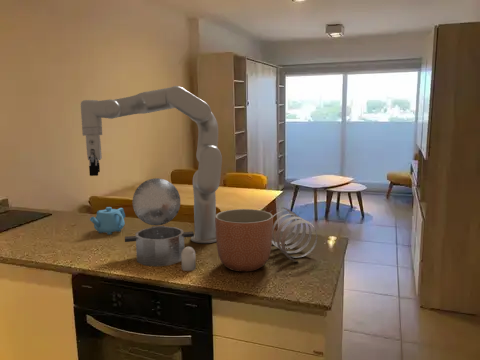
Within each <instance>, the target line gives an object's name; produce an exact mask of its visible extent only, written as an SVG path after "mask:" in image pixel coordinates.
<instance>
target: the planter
mask: <svg viewBox="0 0 480 360" xmlns="http://www.w3.org/2000/svg"><path fill="white" fill-rule="evenodd" d="M273 216H274V215H273V214H272V213H271V212H270V213H269V212H268V211H265V210H261V209H260V210H259V209H250V208H246V209H245V208H238V209H237V208H236V209H230V210H229V209H228V210H223V211H220V212H218V213H216V216H215V229H216V242H215V243H216V249H217V253H218V255H217V256H218V258H219V260H220V262H221V263H222V265H224V266H225V267H226V268H228V269H229V270H231V271H236V272H253V271H256V270H258V269H261V268H262V267H263V266H264V265H265V264H266V263H267V262H268V260H269V259H270V256H271V250H272V244H273V243H272V241H273V239H272V231H273V225H274V217H273Z"/></svg>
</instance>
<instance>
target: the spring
mask: <svg viewBox="0 0 480 360" xmlns="http://www.w3.org/2000/svg"><path fill="white" fill-rule="evenodd" d="M276 209H277V210H278V207H277V208H275V210H276ZM282 209H283V210H284V211H286V212H288V213H284V214H283V215H281V216H279V217H278V218H277V219H276V220H275V221H274V222H273V231H272V244H273V246H275V247H277V248H278V249H279V251H281V252H282V253H283V254H284V255H285V256H286V257H287V258H288V259H289V260H291V261H293V262H296V263H299V261H297V260H295V259H296V258H302V257H305V256H307V255H309V254H310V253H311V252H312V251H314V249H315V248H316V245H317V243H318V233H317V230H316V229H314V230H315V239H314V240H315V241H314V243H313V245H312V247H310V249H309V250H308V251H307V252H305V253H303V254H301V255H298V256H294V258H295V259H294V258H293V256H292V255H289V254H297V253H300V252H301V251H303V250H304V249H306V248H307V247H308V245H309V243H310V242H311V239H312V235H313V234H312V233H313V231H312V228H311V226H312V227H313V228H315V226H314V225H313V223H311V222H310V221H308V220H305V219H304V218H303V217H300V216H299V215H297V214H296V213H295V212H293V211H292V210H290V209H288V208H287V207H282ZM283 210H281V211H279V212H278V211H277V212H276V213H274V215H273V218H274V217H275V216H276V215H278V214H279V213H281V212H283ZM271 212H272V210H271V211H270V212H268V213H271ZM286 216H289V217H287V218H286V219H284V220H283V221H282V222H281V223H280V224H279V226H278V228H277V229H276V232H275V228H276V226H277V224H278V222H280V220H282V219H283V218H284V217H286ZM290 221H291V223H289V222H290ZM287 223H289V224H288V225H287V226H286V224H287ZM301 224H302V225H301ZM306 224H307V225H308V226H306ZM284 226H286V227H285V229H284V230H283V228H284ZM295 226H296V227H295ZM307 227H308V230H309V231H308V237H307V240H306V241H305V242H304V244H303V245H302V246H301V247H300V248H298V249H296V250H292V249H294V248H296V247H297V246H299V245H300V244H302V242H303V241H304V239H305V237H306V234H307ZM295 228H296V230H295ZM301 228H302V233H301V235H300V236H299V234H300V231H301ZM282 230H283V231H282ZM294 230H295V232H294V234H293V235H292V233H293V231H294ZM281 231H282V235H281V237H280V234H281ZM274 232H275V233H276V234H275V233H274ZM274 234H275V237H274ZM290 235H292V236H291V237H290ZM289 237H290V238H289ZM298 237H299V238H298ZM287 238H289V239H287ZM297 238H298V239H297ZM286 239H287V240H286ZM296 239H297V240H296ZM295 240H296V242H294V241H295ZM292 242H294V243H292ZM291 243H292V244H291ZM280 244H281V245H280ZM285 244H286V245H287V246H286V245H285ZM286 248H287V249H286ZM288 248H290V249H288ZM287 250H290V251H287ZM291 250H292V251H291Z"/></svg>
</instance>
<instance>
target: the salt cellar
mask: <svg viewBox="0 0 480 360" xmlns="http://www.w3.org/2000/svg"><path fill="white" fill-rule="evenodd" d="M181 270H182V271H184V272H185V271H186V272H189V271H190V272H191V271H194V270H196V251H195V249H194V247H192V246H186V247H185V246H184V249H183V250H182V252H181Z"/></svg>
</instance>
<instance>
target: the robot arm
mask: <svg viewBox="0 0 480 360" xmlns="http://www.w3.org/2000/svg"><path fill="white" fill-rule="evenodd" d="M171 109H176V110H177V111H180V112H181V113H182V114H183V115H185V116H187V117H189V119H190V120H192V122H195V123H196V124H195V125H197V129H198V134H197V136H198V137H197V149H196V155H195V156H196V160H197V162H198V169H197V170H195V172H194V174H193V177H192V190H193V213H194V215H193V219H194V237H190V241H192V242H193V243H196V244H211V243H217V242H216V229H215V216H216V214H217V210H216V209H217V204H216V203H217V198H216V196H217V195H216V192H217V190H218V189H219V187H220V184H221V183H220V182H221V175H222V164H223V156H222V153H221V150H220V149H219V148H218V146H219V145H218V144H219V123H218V120H217V119H216V116H215V115H214V113H213V112H212V109H211V106H210V105H209V104H208V103H207V102H206V101H204V100H202V99H201V98H200V97H197V96H196V95H195V94H193V93H191V92H190V91H188V90H187V89H185V88H184V87H182V86H179V85H173V86H170V87H165V88H160V89H154V90H149V91H148V90H147V91H142V92H140V93H137V94H134V95H130V96H127V97H120V98H115V99H104V100H97V99H84V100H82V101H80V114H81V116H80V117H81V118H80V119H81V132H82V136H85V145H86V146H85V147H86V155H87V160H88V161H89V165H88V169H89V172H88V173H89V176H90V177H98V176H99V173H100V170H101V168H100V161H101V159H103V158H102V154H103V153H102V144H101V143H102V142H101V136H103V124H102V123H103V122H102V120H103V119H110V120H112V119H116V118H121V117H126V116H127V117H128V116H131V115H137V114H139V115H140V114H150V113H155V112H160V111H166V110H171Z"/></svg>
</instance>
